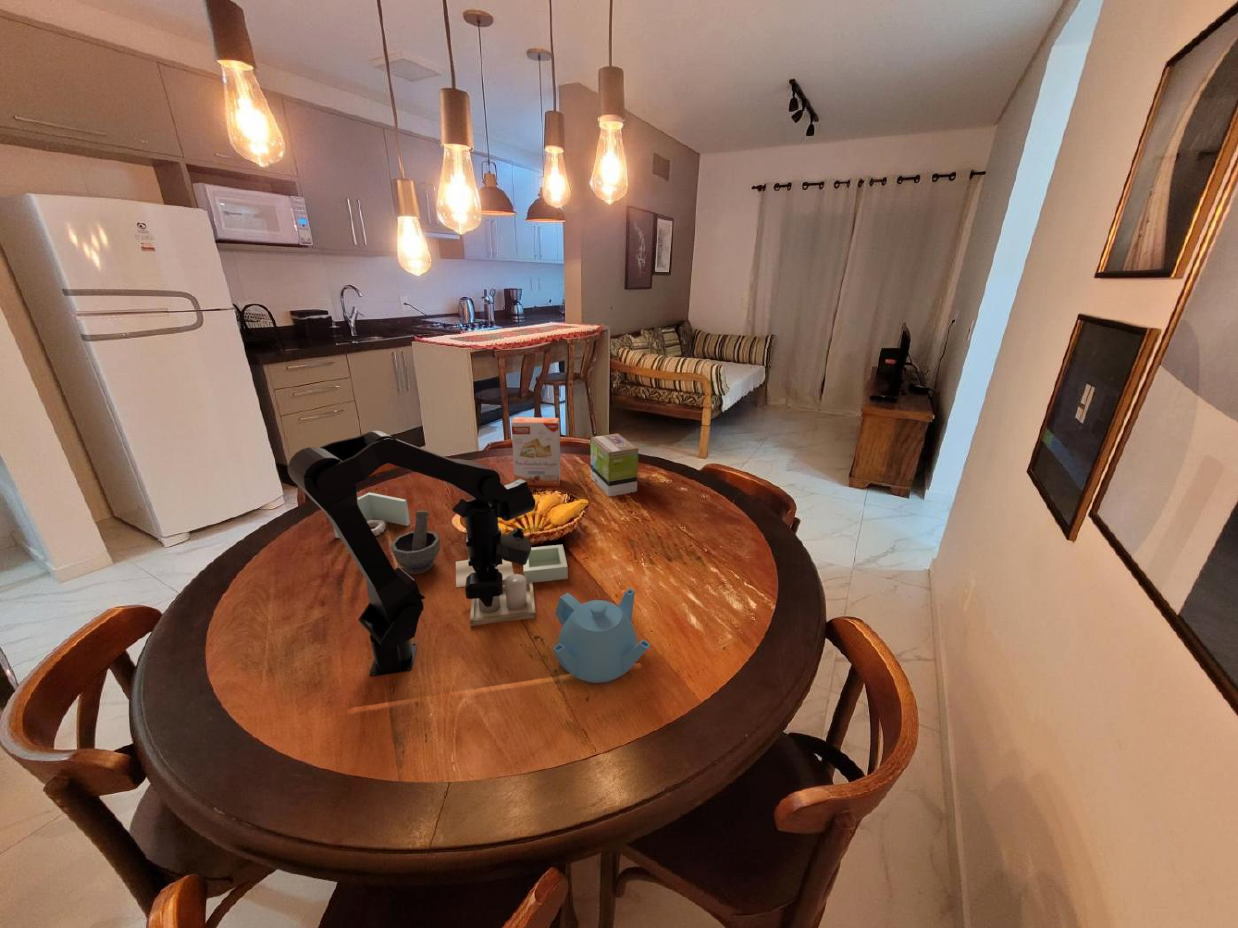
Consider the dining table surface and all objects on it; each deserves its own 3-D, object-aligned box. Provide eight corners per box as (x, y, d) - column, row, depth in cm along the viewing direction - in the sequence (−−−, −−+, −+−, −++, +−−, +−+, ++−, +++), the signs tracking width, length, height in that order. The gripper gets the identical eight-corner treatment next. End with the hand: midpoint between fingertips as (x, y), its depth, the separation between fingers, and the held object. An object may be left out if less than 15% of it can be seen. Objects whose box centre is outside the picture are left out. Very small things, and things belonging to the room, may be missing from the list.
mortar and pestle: (432, 581, 102) (425, 532, 98) (388, 580, 102) (379, 531, 98) (450, 553, 113) (444, 507, 108) (410, 552, 113) (403, 506, 108)
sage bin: (567, 580, 104) (567, 566, 102) (524, 585, 102) (523, 571, 100) (562, 557, 112) (562, 544, 111) (522, 561, 110) (522, 548, 109)
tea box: (589, 479, 155) (589, 435, 150) (617, 474, 159) (618, 432, 154) (608, 497, 143) (608, 451, 137) (638, 492, 147) (639, 447, 141)
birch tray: (535, 619, 92) (535, 612, 91) (470, 627, 89) (469, 620, 88) (532, 588, 101) (532, 581, 100) (473, 595, 98) (472, 588, 98)
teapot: (636, 625, 91) (638, 577, 87) (649, 688, 77) (652, 634, 73) (555, 629, 89) (553, 580, 86) (553, 694, 76) (551, 640, 72)
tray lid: (514, 580, 103) (514, 573, 102) (456, 589, 100) (455, 582, 99) (509, 556, 112) (509, 549, 111) (455, 563, 108) (455, 557, 108)
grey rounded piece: (500, 611, 93) (498, 588, 91) (478, 614, 92) (476, 590, 90) (500, 598, 96) (498, 575, 94) (479, 601, 96) (477, 578, 94)
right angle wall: (336, 539, 118) (330, 511, 115) (373, 517, 129) (369, 492, 126) (375, 548, 115) (369, 520, 112) (410, 525, 125) (406, 499, 122)
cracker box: (514, 486, 148) (510, 421, 141) (517, 479, 154) (513, 416, 146) (559, 486, 149) (558, 422, 141) (561, 479, 155) (559, 416, 147)
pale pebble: (527, 608, 94) (526, 584, 92) (506, 610, 93) (504, 587, 91) (526, 595, 98) (525, 572, 96) (506, 598, 97) (504, 575, 95)
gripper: (529, 551, 81) (533, 625, 87) (525, 503, 98) (528, 568, 104) (461, 558, 79) (469, 634, 84) (468, 507, 96) (475, 573, 101)
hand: (489, 599), depth 94 cm, fingers closed on grey rounded piece, 4 cm apart
